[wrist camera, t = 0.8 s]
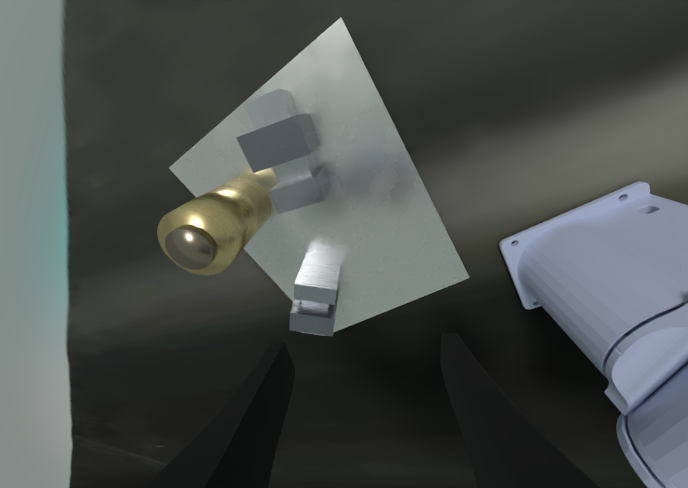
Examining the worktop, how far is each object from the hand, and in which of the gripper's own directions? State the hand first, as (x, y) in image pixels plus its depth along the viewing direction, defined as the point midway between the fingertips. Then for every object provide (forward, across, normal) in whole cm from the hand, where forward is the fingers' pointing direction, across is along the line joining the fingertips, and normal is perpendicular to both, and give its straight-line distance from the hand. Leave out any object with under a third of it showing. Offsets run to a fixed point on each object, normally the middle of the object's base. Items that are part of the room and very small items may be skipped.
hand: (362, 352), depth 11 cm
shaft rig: (+10, +3, -2) cm, 11 cm away
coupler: (+10, +8, -5) cm, 14 cm away
